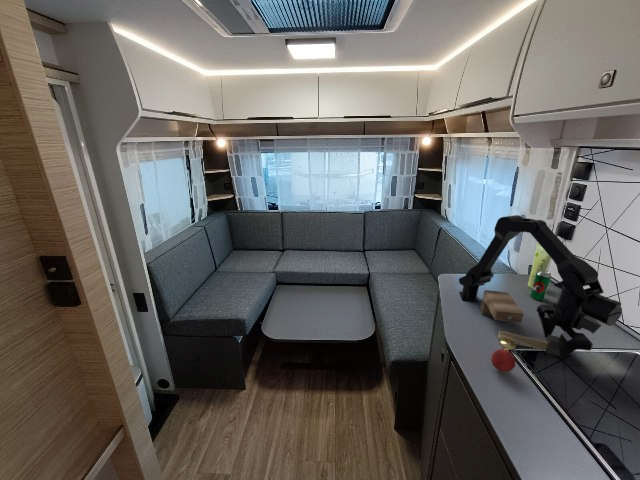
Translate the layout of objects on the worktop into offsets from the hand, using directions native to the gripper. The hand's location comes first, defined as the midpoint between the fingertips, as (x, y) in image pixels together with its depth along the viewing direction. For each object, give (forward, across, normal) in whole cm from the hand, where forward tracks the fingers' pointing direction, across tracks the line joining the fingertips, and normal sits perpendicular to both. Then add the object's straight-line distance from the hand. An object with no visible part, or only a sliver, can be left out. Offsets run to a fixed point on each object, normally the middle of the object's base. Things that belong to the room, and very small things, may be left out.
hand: (554, 347), depth 92 cm
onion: (+2, -12, +19) cm, 23 cm away
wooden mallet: (+2, +2, +7) cm, 7 cm away
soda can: (+2, +35, -10) cm, 36 cm away
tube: (+2, +45, -13) cm, 47 cm away
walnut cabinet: (+2, +13, +12) cm, 18 cm away
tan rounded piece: (+2, 0, +13) cm, 13 cm away
